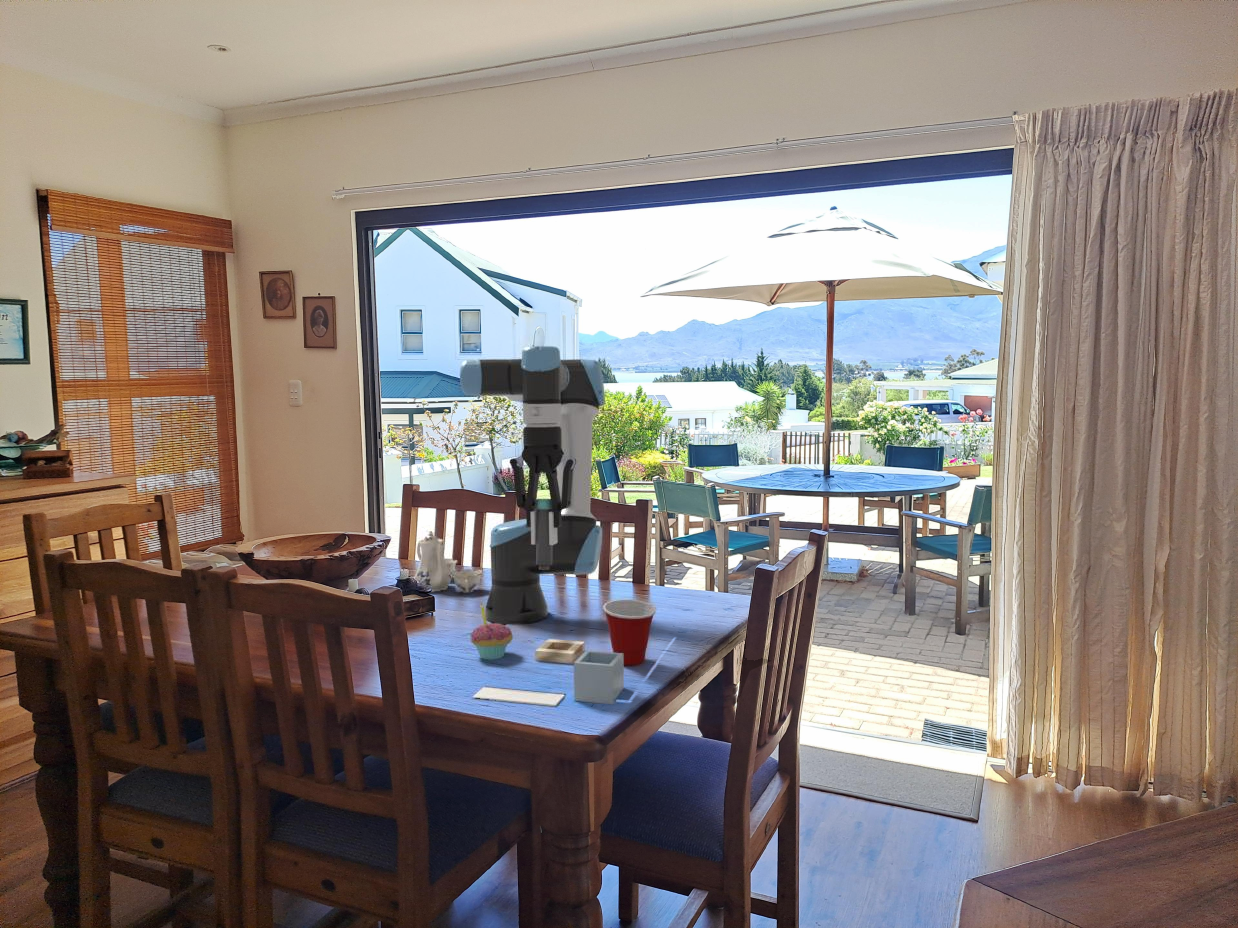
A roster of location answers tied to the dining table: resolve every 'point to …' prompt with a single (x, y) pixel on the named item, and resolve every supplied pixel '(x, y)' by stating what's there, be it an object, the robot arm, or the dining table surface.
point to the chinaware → (441, 568)
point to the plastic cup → (629, 628)
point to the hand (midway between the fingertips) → (544, 543)
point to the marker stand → (560, 651)
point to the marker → (543, 534)
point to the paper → (519, 696)
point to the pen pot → (598, 677)
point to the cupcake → (491, 638)
